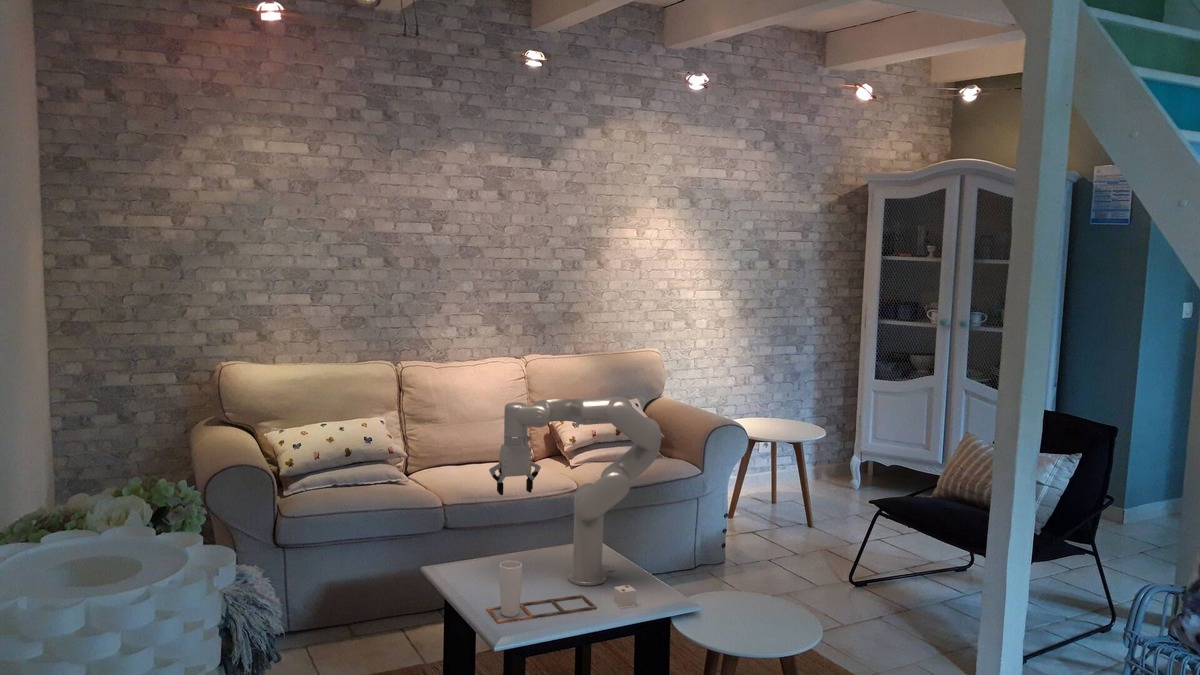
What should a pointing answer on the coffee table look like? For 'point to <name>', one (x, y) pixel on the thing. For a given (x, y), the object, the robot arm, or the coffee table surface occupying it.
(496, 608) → the copper window frame
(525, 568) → the coffee table surface
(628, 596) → the die
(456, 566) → the coffee table surface
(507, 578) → the drinking glass
